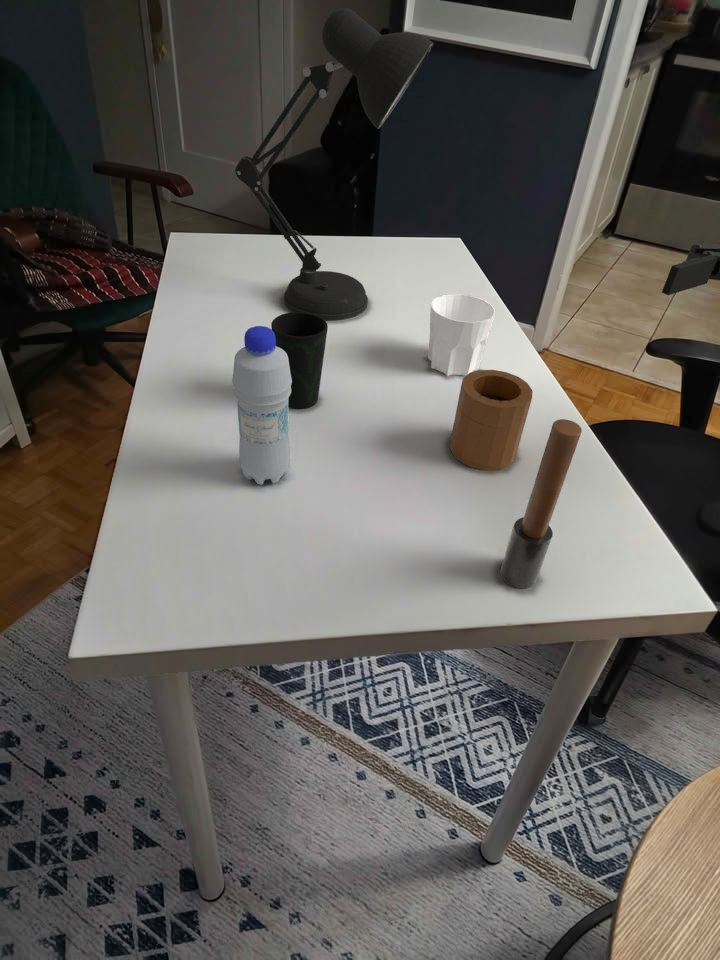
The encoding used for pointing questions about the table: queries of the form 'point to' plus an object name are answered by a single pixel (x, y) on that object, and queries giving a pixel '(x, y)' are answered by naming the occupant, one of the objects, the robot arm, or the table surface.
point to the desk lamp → (381, 84)
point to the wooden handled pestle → (540, 508)
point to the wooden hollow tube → (490, 419)
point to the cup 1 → (302, 354)
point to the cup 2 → (458, 332)
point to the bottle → (262, 406)
